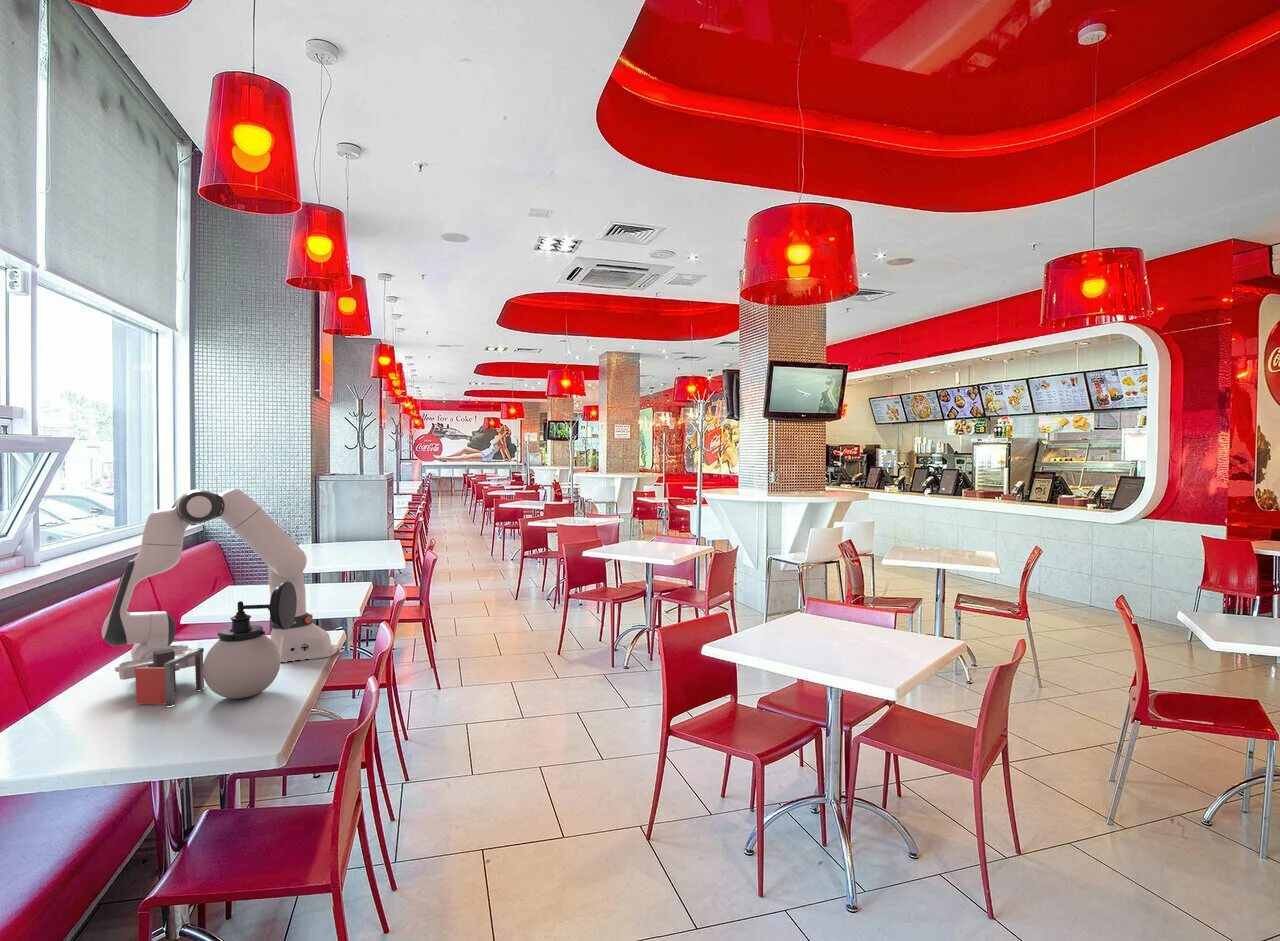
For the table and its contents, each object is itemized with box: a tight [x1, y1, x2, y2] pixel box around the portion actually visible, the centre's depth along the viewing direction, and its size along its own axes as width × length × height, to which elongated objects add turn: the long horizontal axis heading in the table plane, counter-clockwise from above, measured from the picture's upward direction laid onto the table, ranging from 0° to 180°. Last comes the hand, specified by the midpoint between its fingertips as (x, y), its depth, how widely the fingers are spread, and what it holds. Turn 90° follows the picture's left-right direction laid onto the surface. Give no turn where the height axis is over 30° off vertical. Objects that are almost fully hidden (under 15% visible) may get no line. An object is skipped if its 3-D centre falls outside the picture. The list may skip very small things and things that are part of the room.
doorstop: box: [153, 648, 177, 693], centre depth 212 cm, size 4×4×12 cm
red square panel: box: [134, 667, 166, 705], centre depth 204 cm, size 10×1×10 cm, turn 89°
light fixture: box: [203, 581, 297, 700], centre depth 210 cm, size 20×23×33 cm
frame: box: [164, 647, 205, 707], centre depth 209 cm, size 16×2×12 cm, turn 179°
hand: (165, 670), depth 212 cm, fingers closed on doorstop, 4 cm apart
